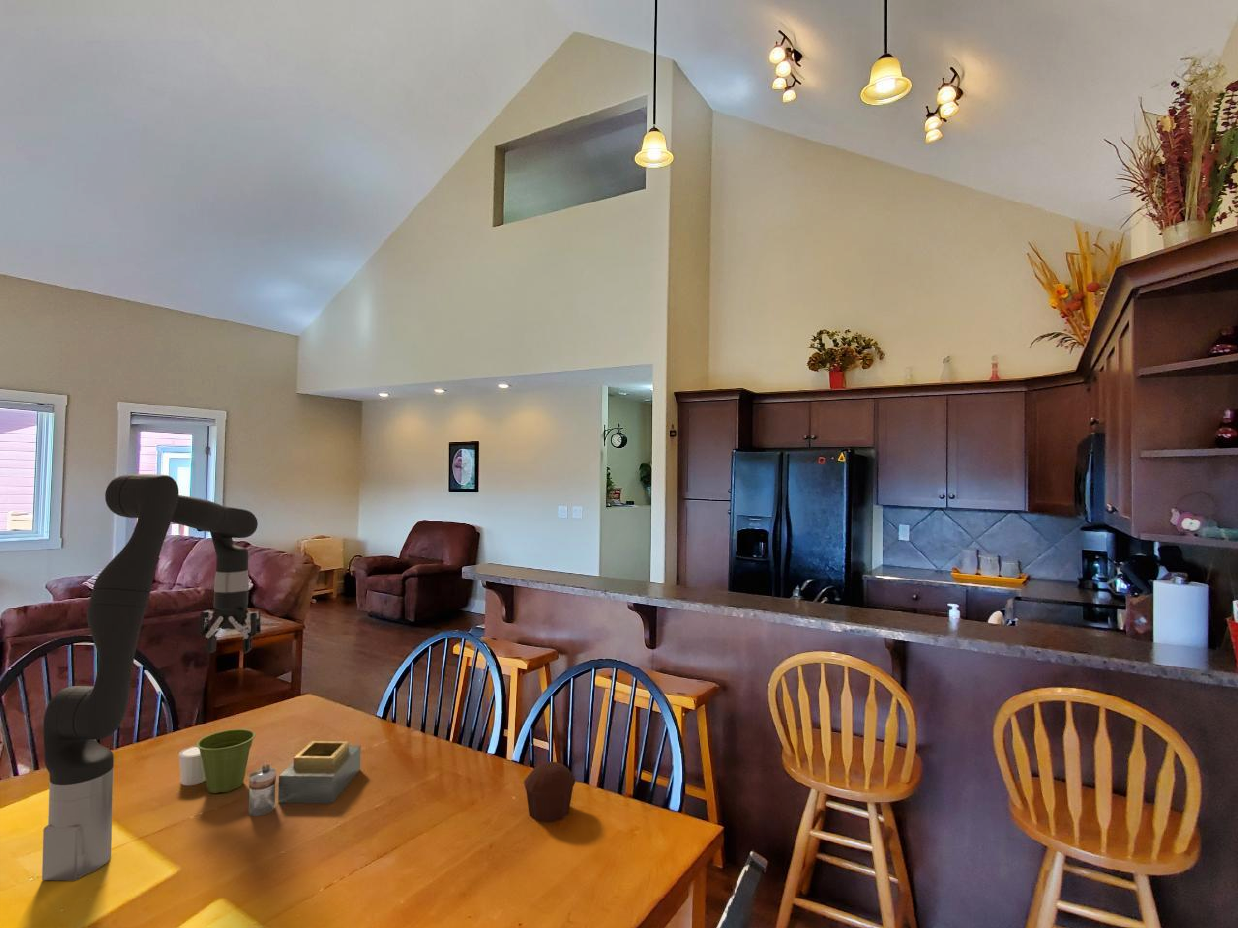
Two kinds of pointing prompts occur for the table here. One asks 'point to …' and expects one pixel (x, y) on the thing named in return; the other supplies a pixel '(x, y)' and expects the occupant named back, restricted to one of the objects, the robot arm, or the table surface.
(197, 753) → the white cylinder
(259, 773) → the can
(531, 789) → the muffin
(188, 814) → the table surface
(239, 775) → the plant pot
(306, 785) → the grey block with socket
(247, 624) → the robot arm
